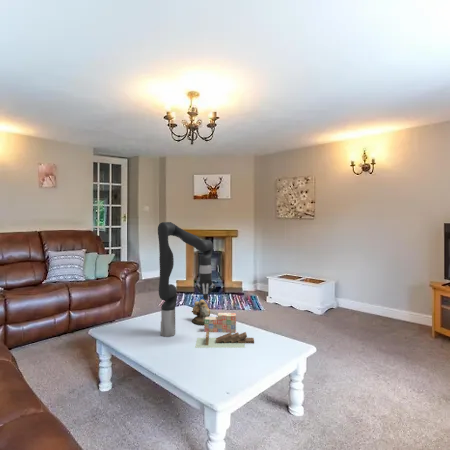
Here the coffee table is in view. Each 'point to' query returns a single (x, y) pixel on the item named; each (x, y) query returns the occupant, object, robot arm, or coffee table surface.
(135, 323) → the coffee table surface
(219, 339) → the domino
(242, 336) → the domino
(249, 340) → the domino
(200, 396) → the coffee table surface
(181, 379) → the coffee table surface
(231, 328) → the stack of blocks
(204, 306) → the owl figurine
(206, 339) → the domino
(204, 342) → the mat
